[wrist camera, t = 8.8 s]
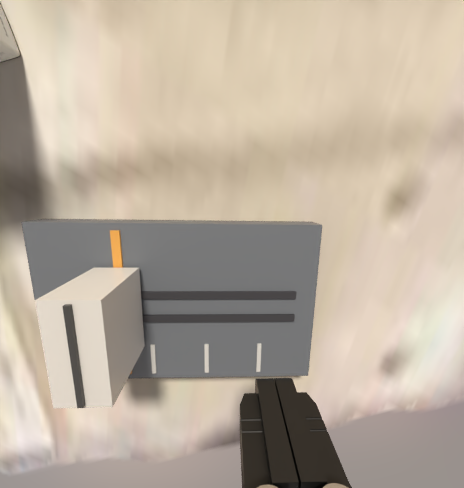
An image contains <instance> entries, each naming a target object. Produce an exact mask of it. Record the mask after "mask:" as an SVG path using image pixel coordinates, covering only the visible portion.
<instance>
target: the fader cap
mask: <svg viewBox="0 0 464 488" xmlns="http://www.w3.org/2000/svg"><path fill="white" fill-rule="evenodd" d="M35 304H36V310H37V316H38V322H39V328H40V334H41V339H42V345H43V351H44V357H45V363H46V368H47V374H48V380H49V386H50V392H51V398H52V403H53V408H94V407H113V405H114V403H115V402H116V400H117V398H118V396H119V394H120V392H121V390H122V388H123V386H124V384H125V383H126V381H127V379H128V377H129V375H130V373H131V371H132V369H133V367H134V365H135V363H136V362H137V360H138V358H139V356H140V354H141V352H142V350H143V348H144V346H145V344H144V329H143V315H142V301H141V287H140V272H139V268H92V269H90V270H89V271H87V272H85V273H83V274H81V275H80V276H78V277H76V278H74V279H72V280H71V281H69V282H67V283H65V284H63V285H62V286H60V287H58V288H56V289H54V290H53V291H51V292H49V293H47V294H45V295H43V296H42V297H40V298H38V299H36V300H35Z"/></svg>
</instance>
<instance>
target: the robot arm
mask: <svg viewBox="0 0 464 488" xmlns="http://www.w3.org/2000/svg"><path fill="white" fill-rule="evenodd" d="M240 449H241V471H242V488H352V487H351V486H350V484H349V482H348V479H347V477H346V475H345V472H344V470H343V467H342V465H341V463H340V460H339V458H338V455H337V453H336V451H335V448H334V446H333V444H332V441H331V439H330V436H329V434H328V432H327V430H326V427H325V424H324V422H323V420H322V417H321V415H320V412H319V410H318V407H317V405H316V403H315V402H314V401H313V400H312V399H311V397H310V396H309V395H308V394H307V393H306V392H305V393H297V391H296V388H295V385H294V383H293V380H292V378H274V379H273V378H272V379H256V382H255V393H249V394H244V396H243V399H242V401H241V404H240Z"/></svg>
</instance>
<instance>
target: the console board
mask: <svg viewBox="0 0 464 488" xmlns="http://www.w3.org/2000/svg"><path fill="white" fill-rule="evenodd" d="M22 228H23V234H24V240H25V246H26V251H27V257H28V263H29V269H30V275H31V281H32V286H33V292H34V298H35V300H36V299H38V298H40V297H42V296H43V295H45V294H47V293H49V292H51V291H53V290H54V289H56V288H58V287H60V286H62V285H63V284H65V283H67V282H69V281H71V280H72V279H74V278H76V277H78V276H80V275H81V274H83V273H85V272H87V271H89V270H90V269H92V268H139V272H140V287H141V301H142V315H143V329H144V344H145V346H144V348H143V350H142V352H141V354H140V356H139V358H138V360H137V362H136V363H135V365H134V367H133V369H132V371H131V373H130V375H129V377H128V378H181V377H246V376H308V370H309V359H310V349H311V338H312V328H313V317H314V307H315V296H316V286H317V275H318V264H319V254H320V243H321V233H322V225H320V224H317V223H314V222H277V221H184V220H92V219H41V220H33V221H25V222H22Z"/></svg>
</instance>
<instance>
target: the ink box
mask: <svg viewBox="0 0 464 488" xmlns="http://www.w3.org/2000/svg"><path fill="white" fill-rule="evenodd" d="M19 55H20V52H19V49H18V47H17V44H16V42H15V39H14V36H13V34H12V31H11V29H10V26H9V24H8V21H7V19H6V16H5V14H4V12H3V9H2V7H1V5H0V62H2V61H6V60H9V59H12V58H15V57H18V56H19Z"/></svg>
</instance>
